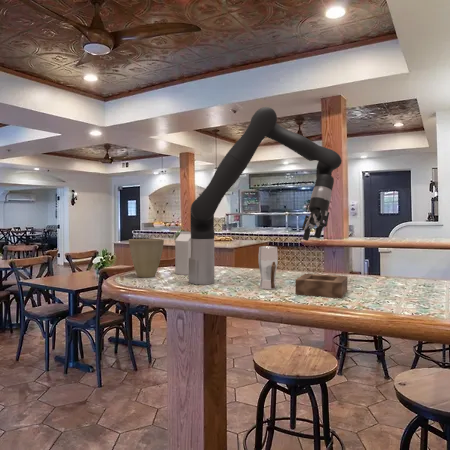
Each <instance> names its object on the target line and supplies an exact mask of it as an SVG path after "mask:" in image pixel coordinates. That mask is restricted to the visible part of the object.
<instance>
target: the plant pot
mask: <svg viewBox="0 0 450 450" xmlns="http://www.w3.org/2000/svg"><path fill="white" fill-rule="evenodd" d="M164 242H165V239H163V238H131V239H128V243H129V251H130V255H131V260H132V264H133V267H134V271H135V273H136V276H137V277H138V278H141V279H142V278H146V279H147V278H154V277H156V274H157V272H158V269H159V265H160V262H161V258H162V254H163V250H164Z"/></svg>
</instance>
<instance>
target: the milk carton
mask: <svg viewBox="0 0 450 450" xmlns="http://www.w3.org/2000/svg"><path fill="white" fill-rule="evenodd" d="M174 243H175V244H174V246H175V247H174V248H175V249H174V253H175V255H174V257H175V258H174V259H175V261H174V263H175V266H174V267H175V268H174V271H175V275H185V276H189V258H191V231H179V235H178V236H177V237H176V239H175V240H174Z"/></svg>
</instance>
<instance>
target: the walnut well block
mask: <svg viewBox="0 0 450 450" xmlns="http://www.w3.org/2000/svg"><path fill="white" fill-rule="evenodd" d="M347 292H348V276H347V275H333V274H332V275H331V274H320V273H317V274H316V273H304V274H301V276H299V277H297V278H295V292H294V293H295V295H297V296H299V295H300V296H309V297H319V296H321V297H320V298H322V297H323V298H331V297H332V299H343V297H344V296H345V295H346V293H347Z"/></svg>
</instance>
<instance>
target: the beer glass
mask: <svg viewBox="0 0 450 450" xmlns="http://www.w3.org/2000/svg"><path fill="white" fill-rule="evenodd" d="M278 254H279V252H278V246H272V245H262V246H259V247H258V266H259V267H258V269H259V274H260V284H259V289H261V290H267V291H268V290H269V291H270V290H276V289H277V284H276V283H277V281H276V275H277V268H278V261H279V260H278V259H279V255H278Z"/></svg>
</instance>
